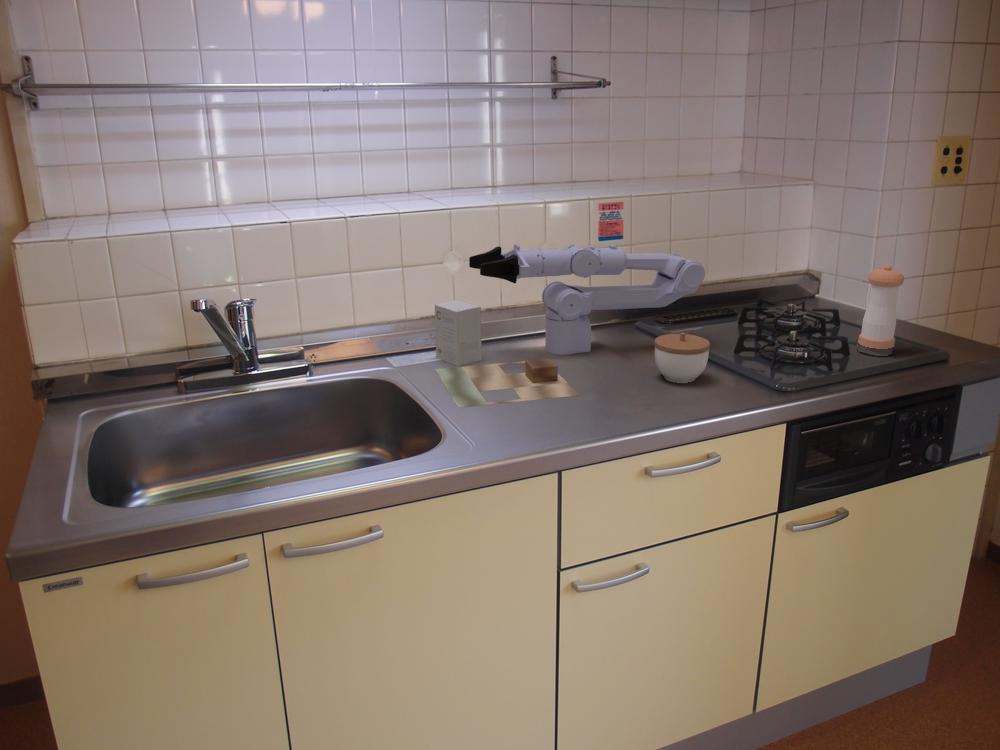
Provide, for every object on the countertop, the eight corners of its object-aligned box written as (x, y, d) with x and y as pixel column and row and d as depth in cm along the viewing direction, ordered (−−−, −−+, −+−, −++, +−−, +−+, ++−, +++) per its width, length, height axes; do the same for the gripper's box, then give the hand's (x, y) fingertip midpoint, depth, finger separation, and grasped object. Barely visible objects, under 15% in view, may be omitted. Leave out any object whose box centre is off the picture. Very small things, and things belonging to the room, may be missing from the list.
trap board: (543, 366, 171) (543, 359, 170) (579, 402, 151) (580, 395, 150) (435, 376, 165) (434, 369, 165) (458, 415, 145) (458, 407, 145)
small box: (482, 366, 171) (481, 306, 167) (458, 373, 167) (456, 311, 163) (459, 357, 177) (458, 299, 172) (435, 363, 173) (433, 303, 169)
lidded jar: (717, 377, 164) (721, 332, 161) (689, 391, 156) (692, 344, 153) (670, 366, 171) (673, 322, 168) (642, 378, 163) (644, 333, 160)
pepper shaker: (898, 357, 176) (913, 269, 169) (864, 357, 176) (878, 269, 169) (884, 347, 183) (897, 262, 176) (851, 347, 183) (863, 262, 176)
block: (549, 372, 162) (549, 358, 161) (557, 380, 158) (557, 366, 157) (525, 375, 161) (525, 360, 160) (532, 383, 157) (532, 368, 156)
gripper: (526, 237, 174) (465, 240, 170) (551, 250, 161) (485, 252, 157) (525, 270, 176) (465, 273, 172) (550, 285, 163) (485, 288, 159)
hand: (474, 265), depth 165 cm, fingers open, 7 cm apart
